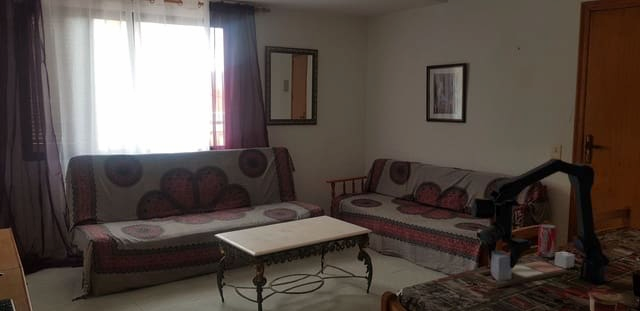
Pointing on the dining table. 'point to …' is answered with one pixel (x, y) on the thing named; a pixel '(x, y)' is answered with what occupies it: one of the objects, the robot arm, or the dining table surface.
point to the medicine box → (500, 266)
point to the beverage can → (547, 240)
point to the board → (523, 273)
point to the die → (564, 259)
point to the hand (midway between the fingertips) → (501, 263)
